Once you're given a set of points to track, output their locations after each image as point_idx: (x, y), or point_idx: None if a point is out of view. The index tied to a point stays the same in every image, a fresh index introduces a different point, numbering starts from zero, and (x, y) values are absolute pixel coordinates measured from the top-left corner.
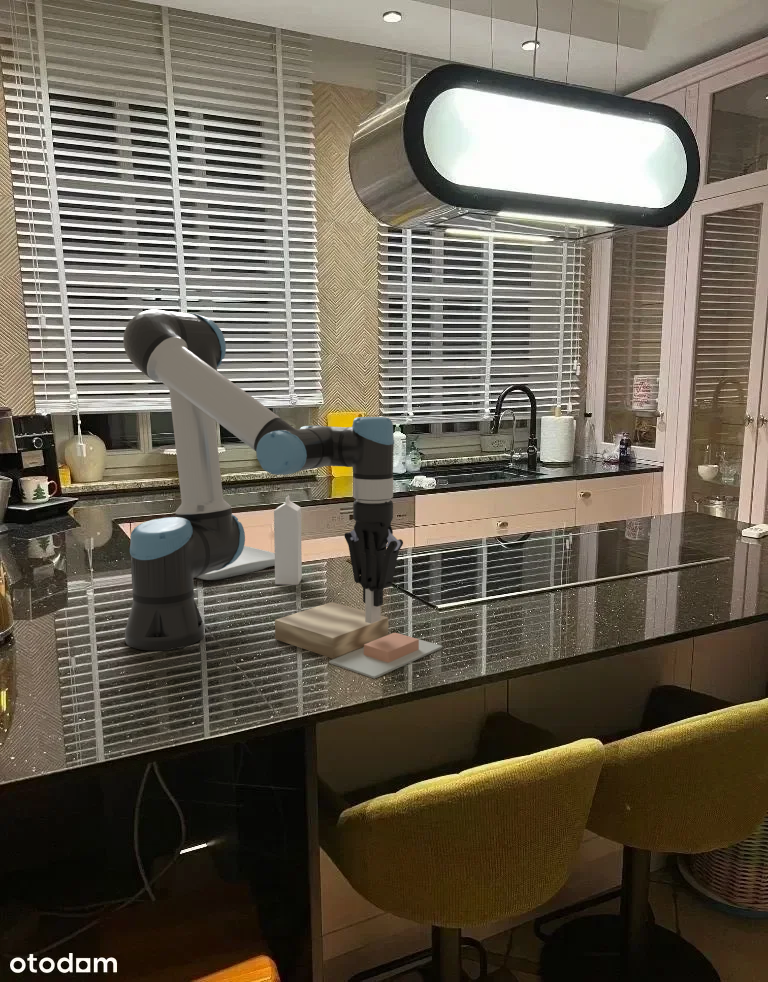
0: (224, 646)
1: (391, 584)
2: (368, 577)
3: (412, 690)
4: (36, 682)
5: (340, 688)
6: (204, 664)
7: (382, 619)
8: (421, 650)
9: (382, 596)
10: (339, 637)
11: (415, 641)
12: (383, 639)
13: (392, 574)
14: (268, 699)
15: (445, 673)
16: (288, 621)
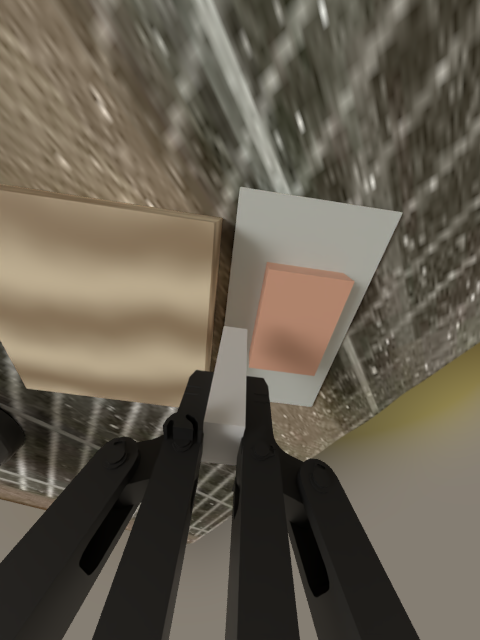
0: (48, 408)
1: (335, 479)
2: (188, 520)
3: (379, 409)
4: (49, 503)
5: (283, 435)
6: (98, 448)
7: (210, 253)
8: (352, 275)
9: (270, 411)
10: None
11: (347, 294)
12: (269, 326)
13: (383, 592)
14: (230, 471)
15: (425, 342)
16: (54, 384)
